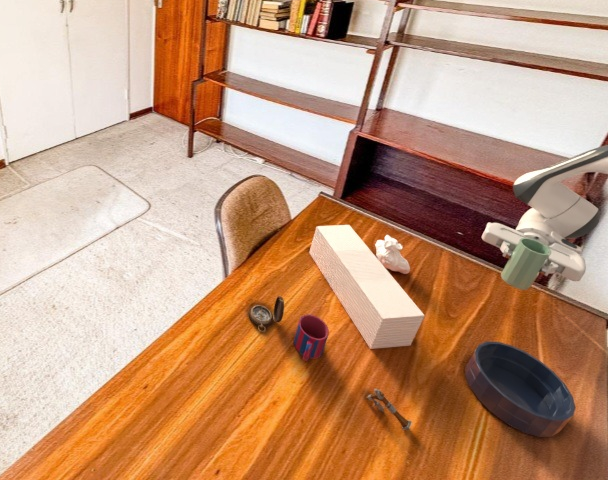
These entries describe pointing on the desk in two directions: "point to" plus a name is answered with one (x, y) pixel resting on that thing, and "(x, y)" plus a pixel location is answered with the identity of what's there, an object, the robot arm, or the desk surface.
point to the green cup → (525, 263)
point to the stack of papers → (365, 288)
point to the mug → (310, 337)
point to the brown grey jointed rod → (390, 407)
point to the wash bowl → (519, 389)
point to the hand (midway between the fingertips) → (525, 263)
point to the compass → (267, 313)
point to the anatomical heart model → (391, 255)
